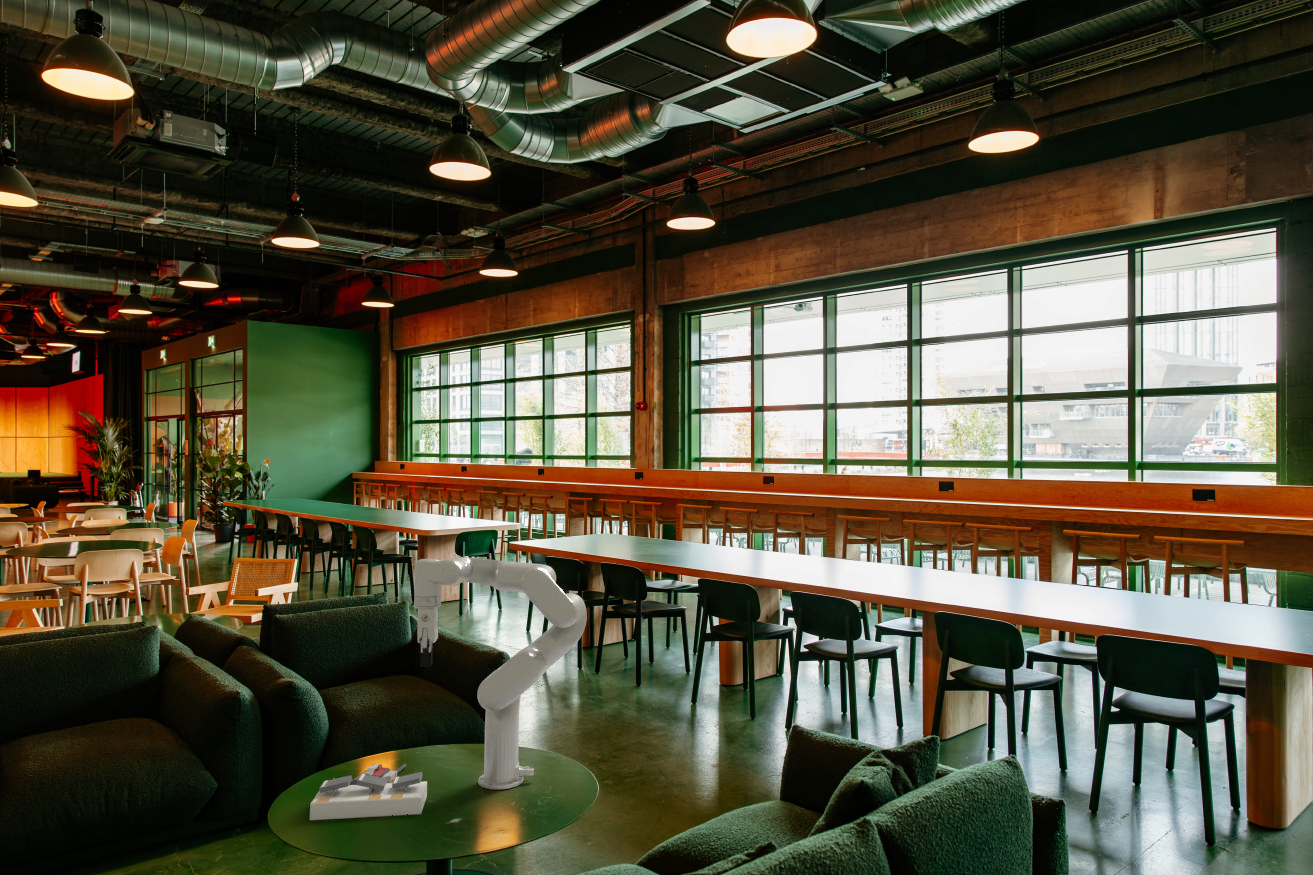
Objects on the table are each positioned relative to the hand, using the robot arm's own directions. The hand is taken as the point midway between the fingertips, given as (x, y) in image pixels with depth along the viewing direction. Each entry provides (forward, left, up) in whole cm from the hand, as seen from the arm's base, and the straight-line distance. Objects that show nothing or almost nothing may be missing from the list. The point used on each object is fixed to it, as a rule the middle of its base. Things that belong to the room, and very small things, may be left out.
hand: (426, 665), depth 232 cm
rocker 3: (+2, +18, -26) cm, 32 cm away
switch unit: (+11, +19, -32) cm, 39 cm away
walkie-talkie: (+12, -2, -33) cm, 35 cm away
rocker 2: (+11, +18, -26) cm, 33 cm away
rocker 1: (+20, +18, -26) cm, 37 cm away
